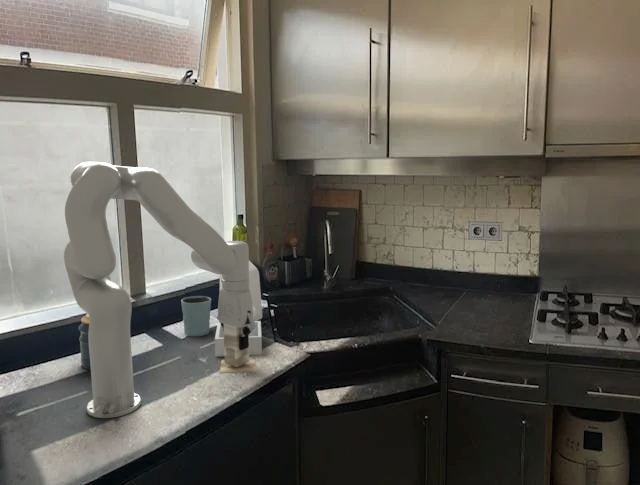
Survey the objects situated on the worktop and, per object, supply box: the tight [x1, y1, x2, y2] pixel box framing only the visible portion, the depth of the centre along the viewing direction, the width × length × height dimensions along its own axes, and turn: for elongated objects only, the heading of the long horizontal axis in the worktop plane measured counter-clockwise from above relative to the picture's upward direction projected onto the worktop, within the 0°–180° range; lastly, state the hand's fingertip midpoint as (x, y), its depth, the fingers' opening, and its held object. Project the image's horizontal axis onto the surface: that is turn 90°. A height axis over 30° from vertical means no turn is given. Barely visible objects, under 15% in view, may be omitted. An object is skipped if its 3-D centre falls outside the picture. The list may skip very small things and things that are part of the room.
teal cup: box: [180, 295, 212, 337], centre depth 188 cm, size 10×10×12 cm
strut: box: [223, 324, 250, 367], centre depth 154 cm, size 5×5×13 cm
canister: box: [77, 313, 91, 371], centre depth 160 cm, size 13×13×18 cm
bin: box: [214, 320, 263, 357], centre depth 170 cm, size 16×14×7 cm
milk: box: [218, 260, 263, 323], centre depth 200 cm, size 12×12×26 cm
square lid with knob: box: [219, 357, 257, 374], centre depth 155 cm, size 10×10×6 cm
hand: (236, 345), depth 154 cm, fingers closed on strut, 5 cm apart
